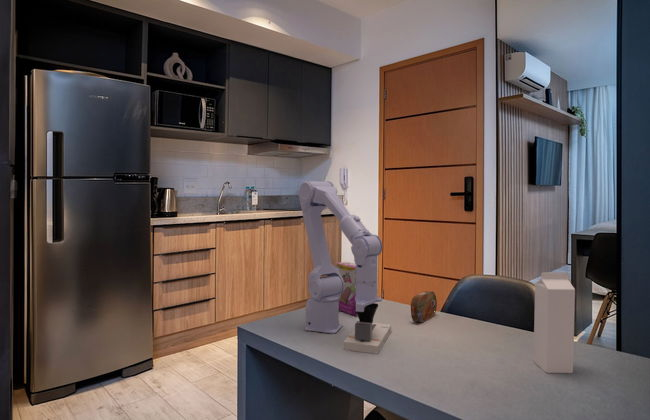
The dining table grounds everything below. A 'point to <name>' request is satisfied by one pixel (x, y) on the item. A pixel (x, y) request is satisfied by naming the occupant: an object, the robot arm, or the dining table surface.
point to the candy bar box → (348, 287)
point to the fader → (363, 330)
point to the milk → (554, 323)
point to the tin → (423, 306)
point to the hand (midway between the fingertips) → (366, 331)
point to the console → (372, 346)
